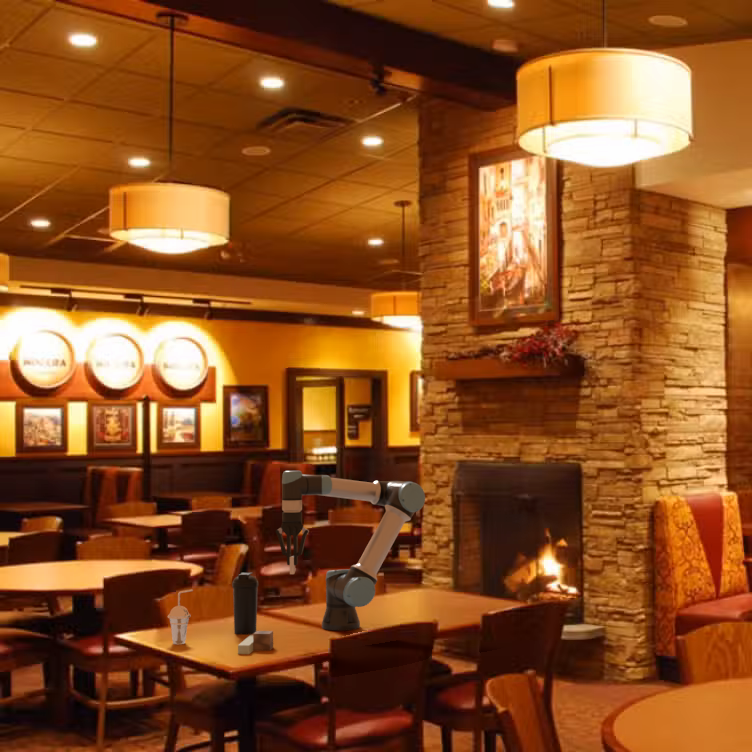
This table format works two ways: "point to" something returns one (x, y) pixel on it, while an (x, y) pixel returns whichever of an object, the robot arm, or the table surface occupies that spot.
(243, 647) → the cream rectangular bar
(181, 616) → the cup with straw
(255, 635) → the block
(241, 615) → the water bottle
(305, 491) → the robot arm
